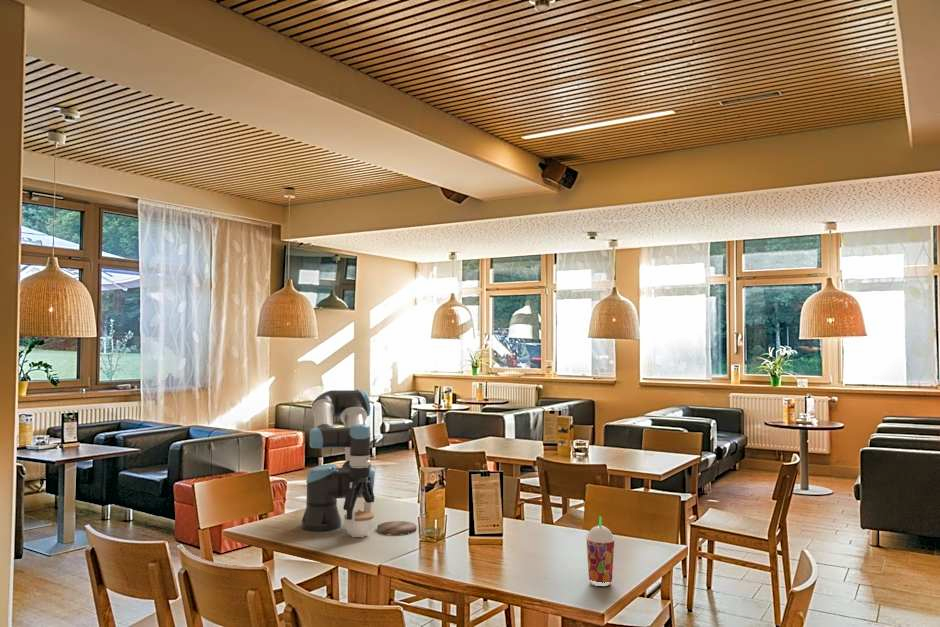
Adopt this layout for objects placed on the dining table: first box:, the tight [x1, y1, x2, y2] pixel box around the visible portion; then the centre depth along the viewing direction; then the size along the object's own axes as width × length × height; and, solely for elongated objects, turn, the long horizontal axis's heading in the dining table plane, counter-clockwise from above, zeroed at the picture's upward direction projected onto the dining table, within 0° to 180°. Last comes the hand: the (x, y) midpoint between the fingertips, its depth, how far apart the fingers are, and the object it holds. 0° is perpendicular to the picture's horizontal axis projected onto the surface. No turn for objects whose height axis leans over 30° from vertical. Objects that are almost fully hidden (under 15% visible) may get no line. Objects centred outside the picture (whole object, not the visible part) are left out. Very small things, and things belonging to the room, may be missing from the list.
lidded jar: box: [344, 509, 375, 538], centre depth 268 cm, size 11×11×9 cm
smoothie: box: [586, 516, 615, 583], centre depth 216 cm, size 8×8×20 cm
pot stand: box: [376, 520, 418, 536], centre depth 276 cm, size 15×15×2 cm
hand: (359, 524), depth 268 cm, fingers open, 13 cm apart
